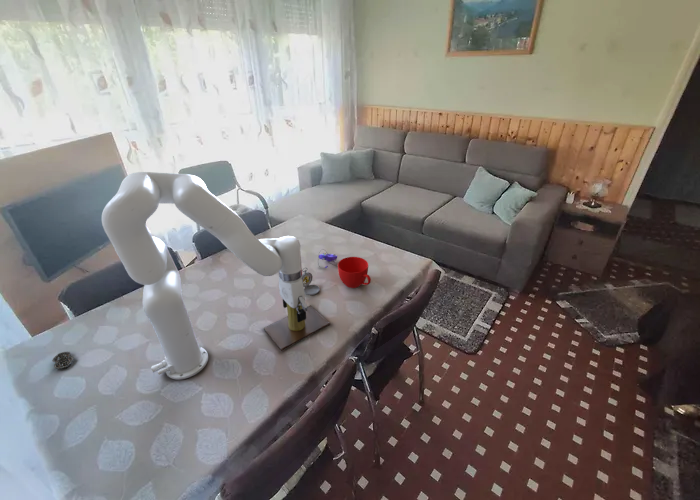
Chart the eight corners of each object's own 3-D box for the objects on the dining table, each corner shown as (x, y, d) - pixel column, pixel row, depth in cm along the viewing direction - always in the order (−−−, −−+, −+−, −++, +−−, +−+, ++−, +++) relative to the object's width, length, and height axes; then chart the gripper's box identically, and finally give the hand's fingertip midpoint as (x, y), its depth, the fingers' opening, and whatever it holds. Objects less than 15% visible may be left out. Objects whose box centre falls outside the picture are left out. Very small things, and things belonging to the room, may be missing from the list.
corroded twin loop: (70, 350, 108) (68, 348, 108) (76, 363, 104) (75, 361, 103) (51, 359, 105) (50, 357, 105) (57, 373, 101) (55, 370, 100)
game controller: (334, 249, 160) (342, 254, 151) (331, 264, 161) (339, 271, 153) (315, 247, 155) (322, 253, 147) (312, 263, 157) (319, 270, 148)
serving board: (281, 351, 108) (281, 349, 108) (264, 329, 117) (263, 327, 116) (329, 324, 119) (329, 322, 118) (310, 307, 128) (310, 305, 127)
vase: (307, 320, 120) (304, 289, 112) (303, 331, 114) (299, 300, 107) (290, 319, 120) (287, 288, 113) (286, 330, 115) (282, 299, 108)
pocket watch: (317, 297, 133) (315, 277, 128) (297, 294, 135) (295, 274, 130) (322, 285, 140) (321, 266, 135) (304, 283, 141) (302, 264, 136)
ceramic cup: (358, 301, 131) (358, 281, 125) (332, 282, 142) (331, 263, 137) (380, 288, 138) (381, 269, 133) (354, 272, 149) (354, 253, 144)
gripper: (268, 265, 109) (273, 304, 118) (294, 289, 98) (298, 331, 106) (287, 258, 114) (291, 296, 122) (314, 280, 102) (317, 321, 110)
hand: (294, 312), depth 114 cm, fingers open, 9 cm apart
